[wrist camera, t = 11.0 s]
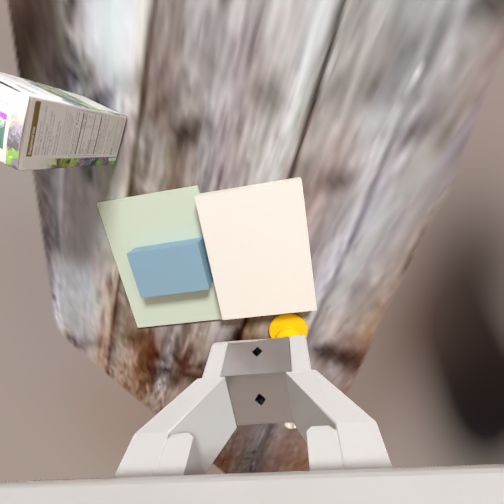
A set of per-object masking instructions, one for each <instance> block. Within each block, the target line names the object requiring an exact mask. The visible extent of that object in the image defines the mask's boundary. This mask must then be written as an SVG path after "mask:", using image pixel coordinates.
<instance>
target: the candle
mask: <svg viewBox="0 0 504 504" xmlns="http://www.w3.org/2000/svg"><path fill="white" fill-rule="evenodd" d="M307 333H308V330H307V325H306V323H305V321H304V320H303V319H302V318H301V317H299V316H298V315H295V314H292V313H286V314H281V315H278V316H277V317H275V318H274V319H273V320H272V321H271V324H270V327H269V334H270V337H271V339H272V338H282V337H290V336H296V335H304V334H305V336H306V337H307ZM285 426H286V427H287V428H289V429H294V428H296V426H295V425H294V423H285Z"/></svg>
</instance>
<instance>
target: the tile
mask: <svg viewBox="0 0 504 504" xmlns="http://www.w3.org/2000/svg"><path fill="white" fill-rule="evenodd" d="M127 257H128V260H129V263H130V266H131V270H132V273H133V276H134V279H135V282H136V285H137V288H138V291H139V294H140V297H141V298H145V297H153V296H161V295H169V294H176V293H184V292H192V291H200V290H208V289H209V288H210V286H211V284H212V282H213V278H212V273H211V269H210V265H209V261H208V257H207V253H206V249H205V244H204V240H203V237H200V238H194V239H187V240H181V241H174V242H168V243H161V244H155V245H148V246H142V247H136V248H134V249H133V250H131V251H130V252H128V253H127Z"/></svg>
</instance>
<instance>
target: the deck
mask: <svg viewBox="0 0 504 504" xmlns="http://www.w3.org/2000/svg"><path fill="white" fill-rule="evenodd" d="M194 198H195V202H196V207H197V211H198V215H199V220H200V224H201V228H202V233H203V237H204V241H205V246H206V250H207V254H208V259H209V263H210V267H211V272H212V276H213V280H214V285H215V289H216V293H217V298H218V302H219V306H220V311H221V315H222V319H223V320H229V319H238V318H248V317H257V316H267V315H277V314H286V313H296V312H305V311H315V310H317V308H316V299H315V290H314V282H313V273H312V265H311V256H310V247H309V239H308V230H307V222H306V213H305V204H304V196H303V187H302V179H301V178H300V177H298V178H292V179H286V180H280V181H274V182H268V183H261V184H255V185H249V186H243V187H237V188H231V189H225V190H219V191H213V192H207V193H201V194H198V195H197V196H195V197H194Z"/></svg>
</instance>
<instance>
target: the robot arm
mask: <svg viewBox="0 0 504 504" xmlns="http://www.w3.org/2000/svg"><path fill="white" fill-rule="evenodd" d="M262 423H294V425H295V426H296V428H297V429H298V431H299V432H300V433H301V435H302V436H303V438H304V439H305V441H306V442H307V443H308V454H309V465H310V471H290V472H262V473H233V474H205V473H206V472H207V470H208V469H209V468H210V466H211V465H212V463H213V462H214V460H215V459H216V457H217V456H218V454H219V453H220V451H221V450H222V448H223V447H224V446H225V444H226V443H227V441H228V440H229V438H230V437H231V435H232V434H233V432H234V431H235V429H236V428H237V426H238V425H250V424H262ZM0 504H504V464H495V465H494V464H493V465H465V466H440V467H439V466H437V467H411V468H392V465H391V462H390V460H389V457H388V454H387V451H386V449H385V445H384V443H383V440H382V437H381V435H380V432H379V429H378V426H377V423H376V421H374V420H373V419H372V418H371V417H370V416H369V415H368V414H366V413H365V412H364V411H363V410H362V409H361V408H359V407H358V406H357V405H356V404H355V403H354V402H352V401H351V400H350V399H349V398H348V397H347V396H346V395H344V394H343V393H342V392H341V391H340V390H339V389H337V388H336V387H335V386H334V385H333V384H332V383H331V382H329V381H328V380H327V379H326V378H325V377H324V376H322V375H321V374H320V373H319V372H318V371H317V370H311V366H310V360H309V353H308V347H307V341H306V336H305V334H304V335H296V336H290V337H282V338H272V339H261V340H259V339H258V340H243V341H229V342H217V343H214V344H213V345H212V347H211V350H210V354H209V357H208V360H207V363H206V367H205V370H204V373H203V376H202V378H201V379H197V380H195V381H194V382H193V383H192V384H191V385H190V386H189V387H187V388H186V389H185V390H184V391H183V392H182V393H181V394H180V395H178V396H177V397H176V398H175V399H174V400H173V401H172V402H170V403H169V404H168V405H167V406H166V407H165V408H164V409H162V410H161V411H160V412H159V413H158V414H157V415H156V416H154V417H153V418H152V419H151V420H150V421H149V422H148V423H146V424H145V425H144V426H143V427H142V428H141V429H140V430H138V431H137V432H136V433H135V434H134V436H133V438H132V440H131V442H130V444H129V446H128V448H127V451H126V453H125V455H124V457H123V459H122V461H121V463H120V465H119V467H118V469H117V471H116V474H115V476H114V478H91V479H62V480H33V481H5V482H0Z"/></svg>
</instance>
